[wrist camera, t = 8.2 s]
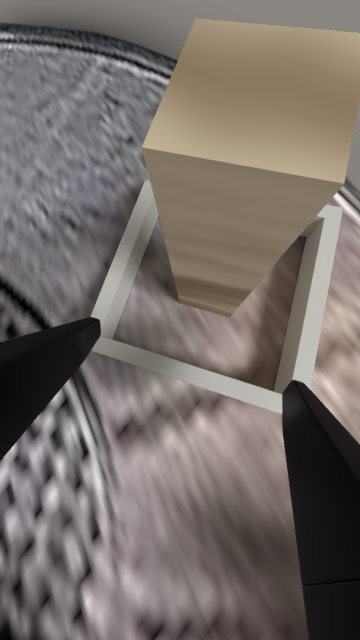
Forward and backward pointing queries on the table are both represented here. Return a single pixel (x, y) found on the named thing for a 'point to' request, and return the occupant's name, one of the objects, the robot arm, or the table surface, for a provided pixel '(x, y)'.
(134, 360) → the tray
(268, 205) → the tan square block
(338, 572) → the robot arm
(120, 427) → the table surface
